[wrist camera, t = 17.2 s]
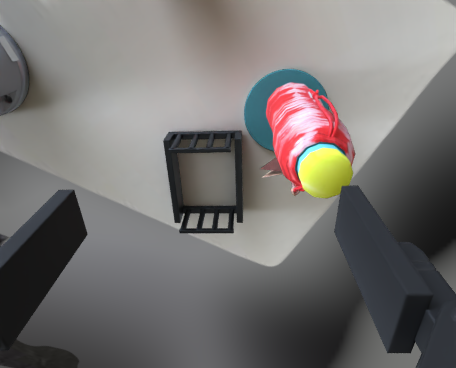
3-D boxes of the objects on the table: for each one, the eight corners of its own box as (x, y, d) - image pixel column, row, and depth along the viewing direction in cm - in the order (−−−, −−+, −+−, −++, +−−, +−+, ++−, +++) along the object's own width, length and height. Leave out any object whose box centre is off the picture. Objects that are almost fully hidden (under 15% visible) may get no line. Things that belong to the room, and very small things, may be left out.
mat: (244, 151, 53) (244, 153, 52) (243, 70, 47) (243, 70, 46) (323, 150, 52) (324, 151, 52) (332, 67, 46) (333, 68, 45)
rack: (178, 210, 59) (170, 234, 53) (168, 132, 52) (157, 148, 45) (242, 210, 58) (242, 234, 52) (241, 130, 51) (240, 146, 45)
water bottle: (292, 155, 52) (327, 257, 30) (247, 138, 51) (250, 231, 29) (328, 86, 47) (403, 148, 25) (279, 65, 46) (311, 111, 24)
